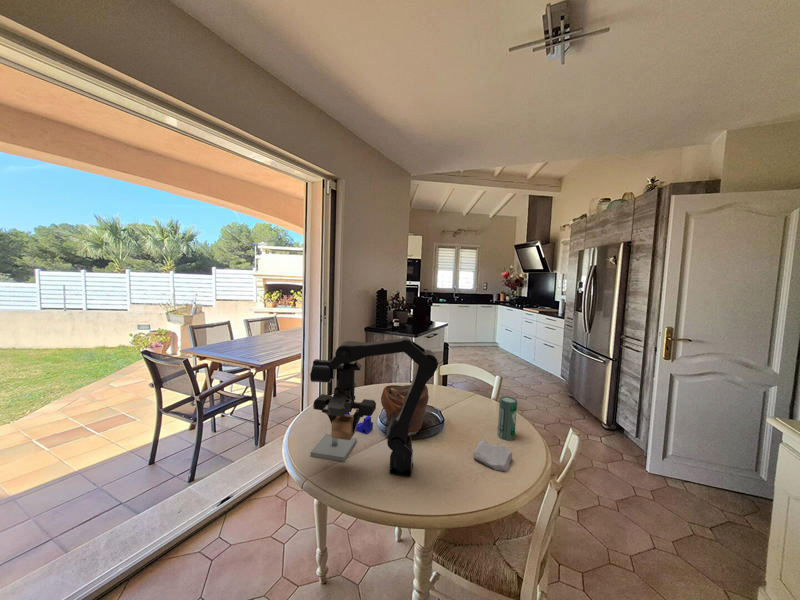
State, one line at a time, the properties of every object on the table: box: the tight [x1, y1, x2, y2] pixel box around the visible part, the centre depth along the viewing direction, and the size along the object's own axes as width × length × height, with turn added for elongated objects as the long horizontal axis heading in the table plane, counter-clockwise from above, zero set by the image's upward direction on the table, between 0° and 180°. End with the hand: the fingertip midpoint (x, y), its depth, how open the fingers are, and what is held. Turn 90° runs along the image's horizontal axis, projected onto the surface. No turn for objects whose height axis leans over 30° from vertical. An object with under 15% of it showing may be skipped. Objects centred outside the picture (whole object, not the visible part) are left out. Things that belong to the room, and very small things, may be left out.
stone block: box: [473, 440, 513, 472], centre depth 103 cm, size 12×5×10 cm
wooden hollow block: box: [330, 414, 357, 440], centre depth 95 cm, size 6×6×5 cm
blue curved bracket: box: [345, 412, 374, 435], centre depth 121 cm, size 12×4×6 cm, turn 64°
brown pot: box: [380, 384, 430, 437], centre depth 121 cm, size 18×20×18 cm
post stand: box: [310, 433, 358, 463], centre depth 105 cm, size 12×12×7 cm
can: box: [497, 395, 518, 441], centre depth 118 cm, size 6×6×15 cm
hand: (344, 430), depth 95 cm, fingers closed on wooden hollow block, 6 cm apart
